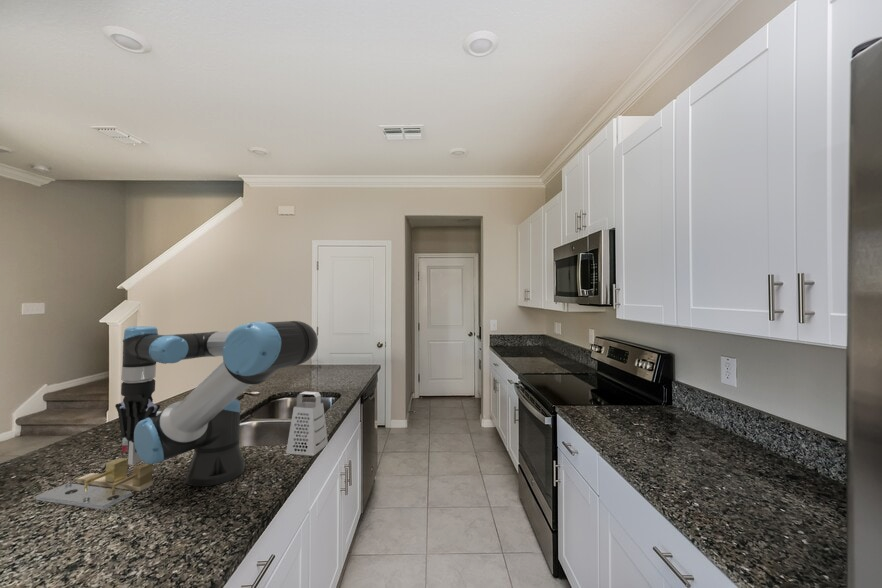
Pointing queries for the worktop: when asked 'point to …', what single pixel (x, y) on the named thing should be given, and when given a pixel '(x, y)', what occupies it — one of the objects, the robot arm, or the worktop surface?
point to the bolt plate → (84, 496)
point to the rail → (125, 479)
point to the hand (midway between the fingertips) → (135, 462)
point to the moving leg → (112, 472)
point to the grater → (307, 426)
